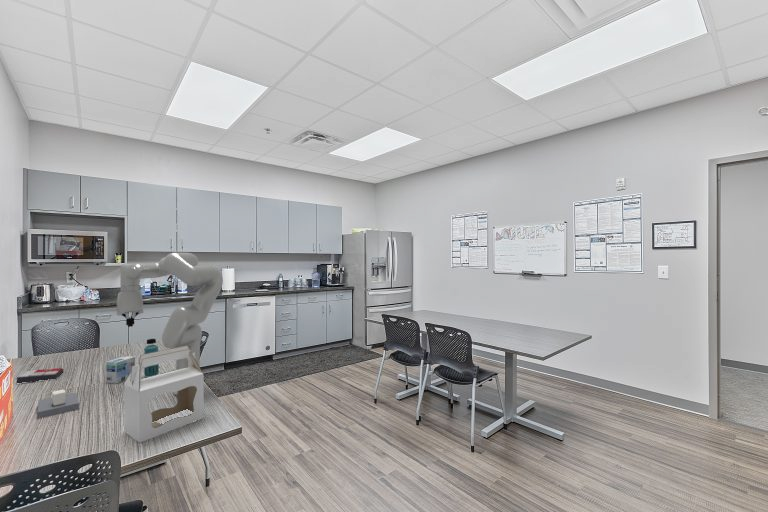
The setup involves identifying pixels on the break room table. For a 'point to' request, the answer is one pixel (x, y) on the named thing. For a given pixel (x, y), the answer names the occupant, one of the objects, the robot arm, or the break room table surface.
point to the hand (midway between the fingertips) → (130, 326)
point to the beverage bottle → (149, 349)
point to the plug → (58, 397)
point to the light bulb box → (119, 369)
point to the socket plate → (48, 409)
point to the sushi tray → (40, 375)
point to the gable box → (180, 380)
